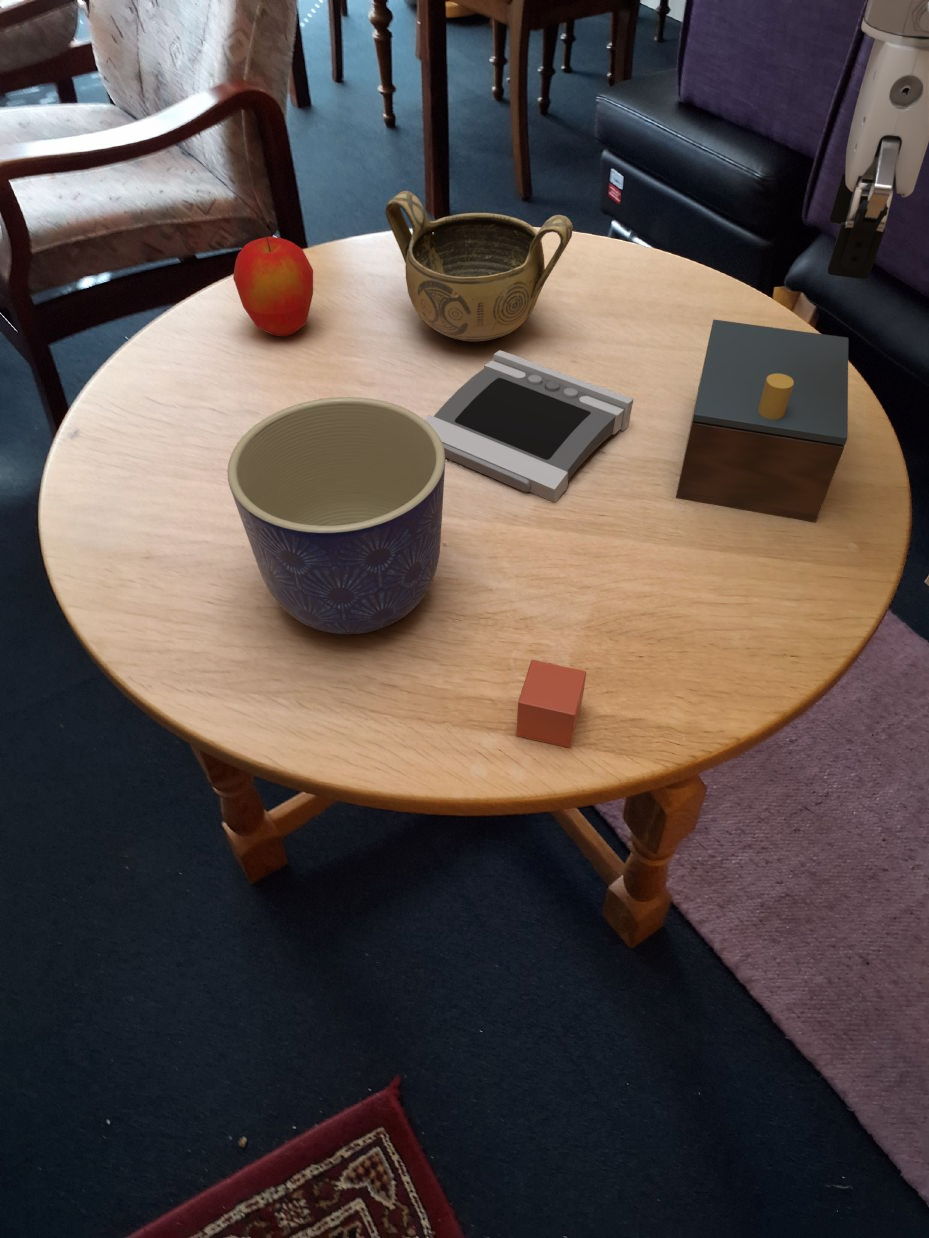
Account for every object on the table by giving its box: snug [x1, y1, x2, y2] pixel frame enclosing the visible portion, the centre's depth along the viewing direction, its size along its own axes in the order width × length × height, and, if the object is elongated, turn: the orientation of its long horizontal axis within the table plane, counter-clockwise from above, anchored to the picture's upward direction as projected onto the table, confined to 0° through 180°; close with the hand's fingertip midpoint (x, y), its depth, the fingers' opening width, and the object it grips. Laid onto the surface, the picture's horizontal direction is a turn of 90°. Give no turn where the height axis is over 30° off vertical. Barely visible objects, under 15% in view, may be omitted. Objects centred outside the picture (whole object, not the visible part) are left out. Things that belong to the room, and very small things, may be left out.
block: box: [515, 659, 587, 749], centre depth 70 cm, size 4×4×4 cm
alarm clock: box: [424, 349, 634, 503], centre depth 95 cm, size 17×5×16 cm
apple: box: [232, 236, 314, 337], centre depth 107 cm, size 9×9×12 cm
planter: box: [226, 396, 446, 635], centre depth 76 cm, size 17×17×15 cm
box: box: [675, 331, 845, 523], centre depth 91 cm, size 14×18×9 cm
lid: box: [692, 319, 849, 446], centre depth 86 cm, size 14×18×4 cm
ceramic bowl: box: [385, 190, 574, 343], centre depth 106 cm, size 22×17×15 cm
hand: (847, 248), depth 75 cm, fingers open, 9 cm apart
